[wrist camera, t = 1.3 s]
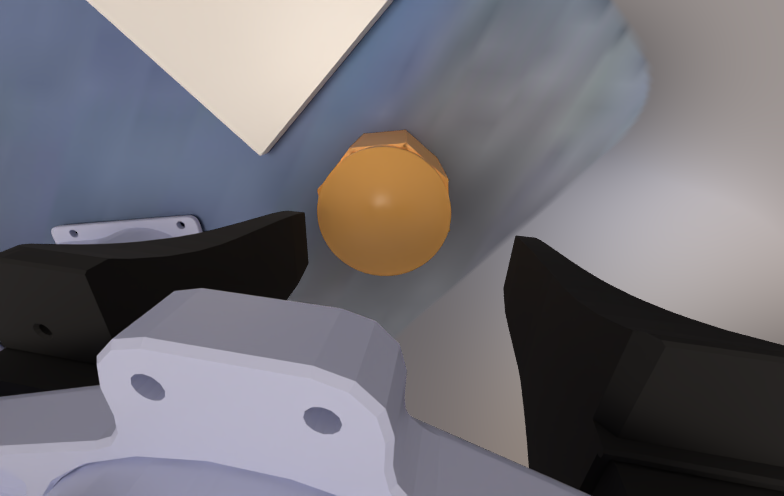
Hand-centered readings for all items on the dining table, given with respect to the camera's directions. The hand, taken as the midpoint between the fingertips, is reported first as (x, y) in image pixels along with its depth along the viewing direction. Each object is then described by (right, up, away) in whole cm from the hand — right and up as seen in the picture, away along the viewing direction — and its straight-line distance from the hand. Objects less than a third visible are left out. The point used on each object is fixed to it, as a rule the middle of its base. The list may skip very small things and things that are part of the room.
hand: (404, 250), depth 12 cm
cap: (-1, +4, +9) cm, 9 cm away
